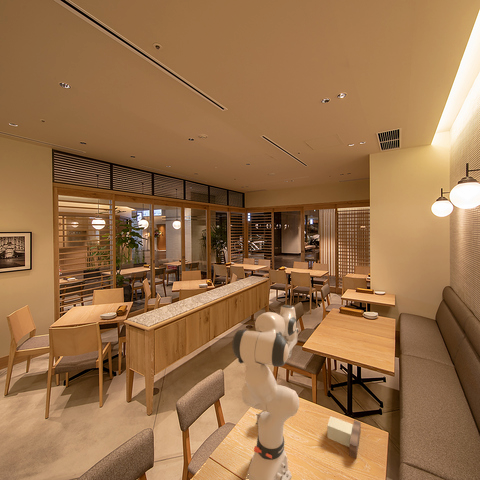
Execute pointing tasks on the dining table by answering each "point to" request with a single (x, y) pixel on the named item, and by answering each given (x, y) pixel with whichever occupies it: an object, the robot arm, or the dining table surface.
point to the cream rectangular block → (339, 431)
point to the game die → (259, 416)
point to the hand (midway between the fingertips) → (288, 356)
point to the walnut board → (355, 438)
